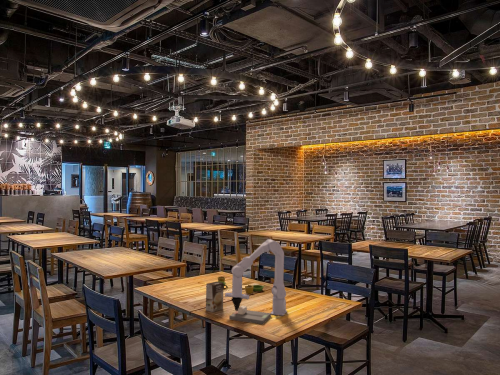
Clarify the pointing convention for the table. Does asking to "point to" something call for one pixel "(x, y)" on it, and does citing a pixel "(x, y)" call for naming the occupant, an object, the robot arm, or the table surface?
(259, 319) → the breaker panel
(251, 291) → the tableware set
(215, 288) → the coffee box
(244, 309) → the breaker knob
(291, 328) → the table surface
